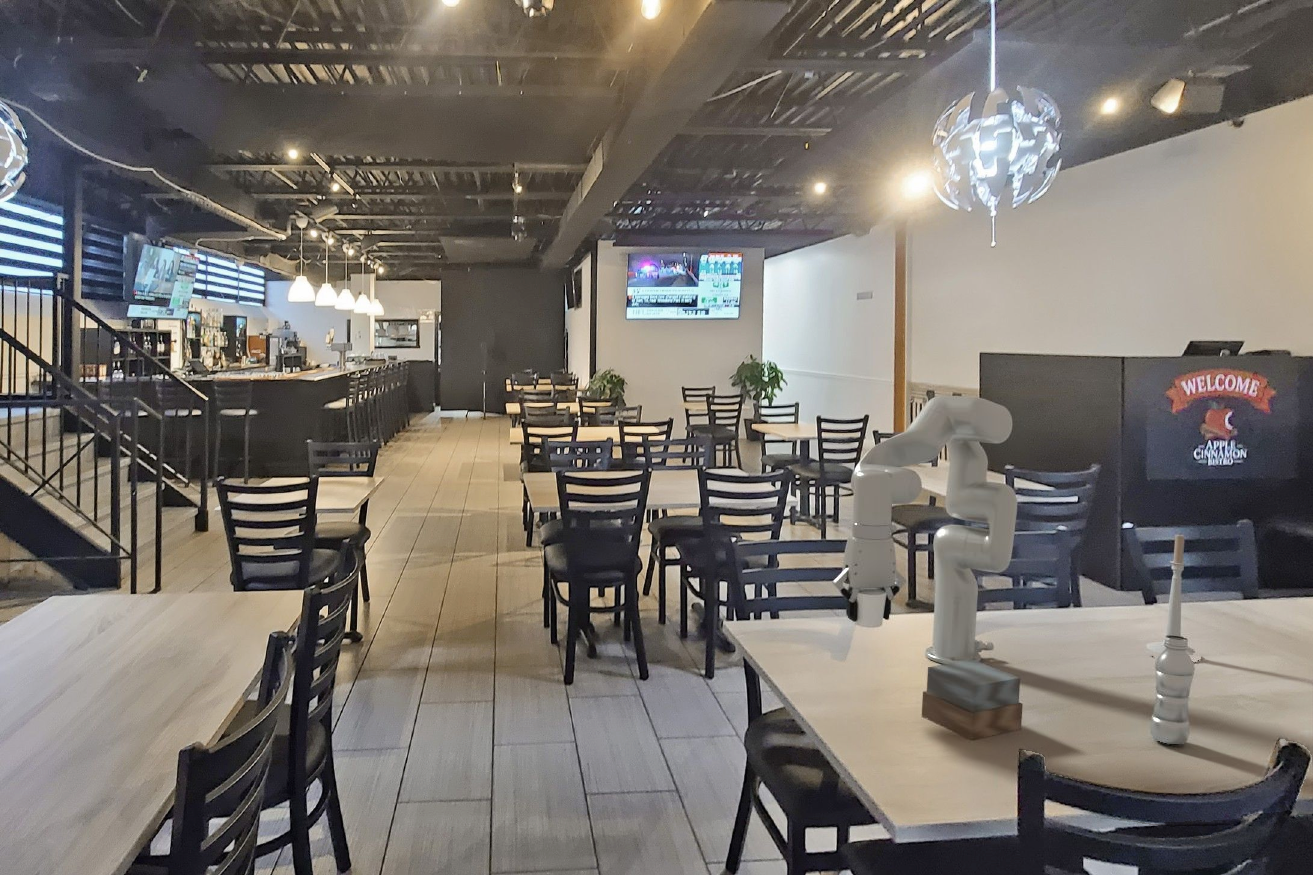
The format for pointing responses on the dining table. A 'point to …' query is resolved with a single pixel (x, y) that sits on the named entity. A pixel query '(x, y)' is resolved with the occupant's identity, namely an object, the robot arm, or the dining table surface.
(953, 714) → the grey and wood block
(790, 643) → the dining table surface
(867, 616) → the white grey-rimmed cylinder
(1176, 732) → the plastic bottle
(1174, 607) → the candlestick
